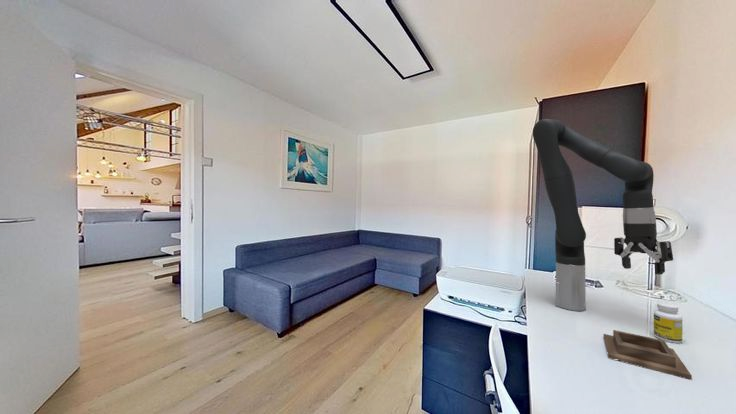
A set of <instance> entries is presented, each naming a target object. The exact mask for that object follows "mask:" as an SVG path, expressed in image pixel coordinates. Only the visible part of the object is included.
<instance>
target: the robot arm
mask: <svg viewBox="0 0 736 414" xmlns="http://www.w3.org/2000/svg"><path fill="white" fill-rule="evenodd" d="M532 137H533V141H534V143H535V146H536V149H537V152H538V155H539V160H540V165H541V170H542V175H543V181H544V186H545V190H546V193H547V197H548V200H549V202H550V204H551V207H552V209H553V213H554V220H555V232H554V233H555V234H554V239H555V240H554V241H555V243H554V244H555V246H554V247H555V249H554V250H555V254H554V255H555V307H559V308H562V309H565V310H569V311H574V312H582V311H583V312H584V311H585V310H586V308H587V307H586V305H587V301H586V300H587V299H586V296H587V295H586V294H587V293H586V253H585V240H586V238H587V232H586V230H585V228H584V225H583V223H582V220H581V217H580V214H579V210H578V201H577V193H576V185H575V180H574V177H573V171H572V170H571V167H570V166H569V164H568V162H567V160H566V159H565V157H564V155H563V153H562V152H561V149H560V146H561V147H564V148H566V149H568V150H570V151H571V152H573V153H575V154H576V155H577V156H578V157H580V158H581V159H583V160H584V161H587V162H588V163H590V164H593V165H594V166H596V167H598V168H601V169H602V170H605V171H606V172H608V173H609V174H611V175H613V176H614V177H615V178H618V179H620V180H622V181H623V182H624V192H623V193H622V198H621V199H622V200H621V201H622V226H623V235H624V238H623V237H615V238H614V240H613V243H614V244H613V245H614V246H613V247H614V249H613V251H614V254H615V255H616V256H617V255H618V256H619V257H620V258H621V266H622V267H623V269H626V270H628V269H631V268H632V264H631V257H630V256H631V255H632V254H633V253H640V254H647V256H648V257H651V258H652V260H653V261H654V262H653V264H654V274H655V275H663V274H664V273H665V272H666V267H665V263H666V262H673V261H674V255H673V250H672V249H673V248H672V243H671V241H670V240H669V241H668V240H663V241H662V240H661V241H659V240H657V236H658V232H657V218H656V211H655V209H654V196H653V189H654V188H653V185H654V178H655V177H654V175H655V174H654V169H653V167H652V165H651V164H650V163H649V162H647V161H646V162H645V161H641V160H638V159H635V158H632V157H630V156H627V155H625V154H623V153H622V152H621V151H619V150H617V149H615V148H613V147H611V146H608V145H606V144H604V143H601V142H599V141H596V140H594V139H591V138H589V137H588V136H587V137H586V136H584V135H583V134H580V133H578V132H577V131H575V130H573V129H572V128H571V127H569V126H567V125H566V124H565V123H563V122H562V121H561V120H558V119H552V118H542V119H540V120H539V121H537V122H536V123H535V124H534V125H533V129H532ZM624 245H626V246H624ZM624 247H625V248H624ZM657 247H658V248H659V249H660V250H659V249H657Z"/></svg>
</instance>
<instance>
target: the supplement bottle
mask: <svg viewBox="0 0 736 414" xmlns="http://www.w3.org/2000/svg"><path fill="white" fill-rule="evenodd" d="M656 307H657V309H655V310H653V335H654V336H655V337H656V339H660V340H664V341H665V342H666V343H667V342H668V343H673V344H681V343H683V316H682V315H681V314H680V313H678V312H679V306H678V305H676V304H673V303H668V302H663V301H662V302H660V301H659V302H657V303H656ZM655 337H654V338H655Z"/></svg>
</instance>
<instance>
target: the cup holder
mask: <svg viewBox="0 0 736 414" xmlns="http://www.w3.org/2000/svg"><path fill="white" fill-rule="evenodd" d="M612 332H613V333H612V335H611V334H606V333H603V340H604V344H605V345H604V346H605V349H606V352H608V354H607V357H609V358H612V359H611V360H613V359H618V360H621V361H624V362H623V363H625V362H628V363H627V364H629V363H632V364H636V365H639V366H638V367H640V366H642V367H641V368H644V367H645V369H648V370H653V371H656V372H659V371H660V372H661V373H663V372H664V373H663V374H667V373H669V374H668V375H671V374H674V375H673V376H675V375H677V376H676V377H679V376H681V377H680V378H683V377H685V378H684V379H687V380H690V379H691V380H692V379H693V378H692V374H691V372H690V371H689V369H688V368H687V367H686V366H685V364H684V362H683V361H682V360H681V359H680V357H679V356H678V354H677V353H676V351H675V349H674V348H671V347H669V345H668V344H667V342H666V341H664V340H661V339H659V338H655V337H649V336H645V335H639V334H636V333H635V334H634V333H630V332H625V331H620V330H616V329H613V330H612ZM609 358H608V359H609ZM621 361H620V362H621ZM632 364H631V365H632ZM636 365H635V366H636ZM691 380H690V381H691Z"/></svg>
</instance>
